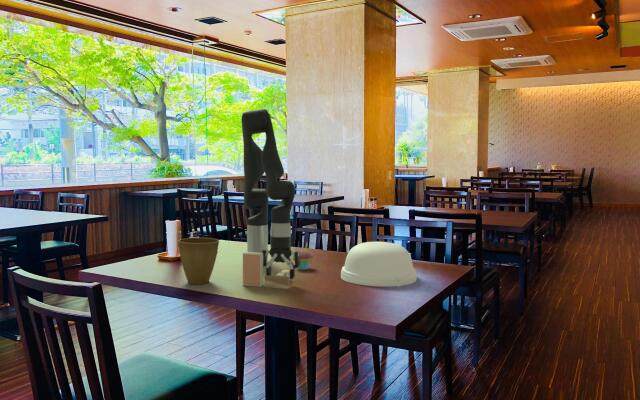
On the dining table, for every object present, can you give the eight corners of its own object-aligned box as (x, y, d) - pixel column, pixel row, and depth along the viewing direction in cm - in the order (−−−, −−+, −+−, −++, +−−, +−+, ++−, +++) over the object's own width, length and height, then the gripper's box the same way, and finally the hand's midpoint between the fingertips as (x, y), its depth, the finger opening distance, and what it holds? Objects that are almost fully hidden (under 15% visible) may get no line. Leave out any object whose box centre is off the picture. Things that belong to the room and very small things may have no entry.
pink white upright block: (245, 283, 194) (245, 251, 193) (263, 285, 192) (263, 252, 191) (242, 285, 191) (242, 253, 190) (260, 286, 189) (260, 254, 188)
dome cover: (327, 272, 216) (328, 239, 215) (391, 267, 227) (391, 235, 226) (363, 290, 186) (363, 251, 185) (433, 284, 198) (434, 247, 197)
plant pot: (200, 288, 185) (200, 244, 184) (169, 283, 192) (169, 240, 191) (227, 280, 198) (227, 239, 197) (197, 276, 205) (197, 236, 204)
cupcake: (316, 267, 224) (316, 240, 224) (307, 271, 217) (307, 242, 216) (298, 265, 228) (298, 238, 227) (289, 269, 220) (289, 241, 219)
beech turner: (275, 279, 202) (276, 268, 202) (298, 280, 200) (298, 270, 200) (264, 287, 189) (264, 276, 189) (288, 288, 187) (288, 277, 187)
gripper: (302, 234, 194) (301, 277, 195) (265, 232, 197) (265, 275, 198) (296, 237, 187) (296, 281, 188) (258, 235, 190) (258, 279, 191)
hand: (280, 278), depth 193 cm, fingers open, 8 cm apart
